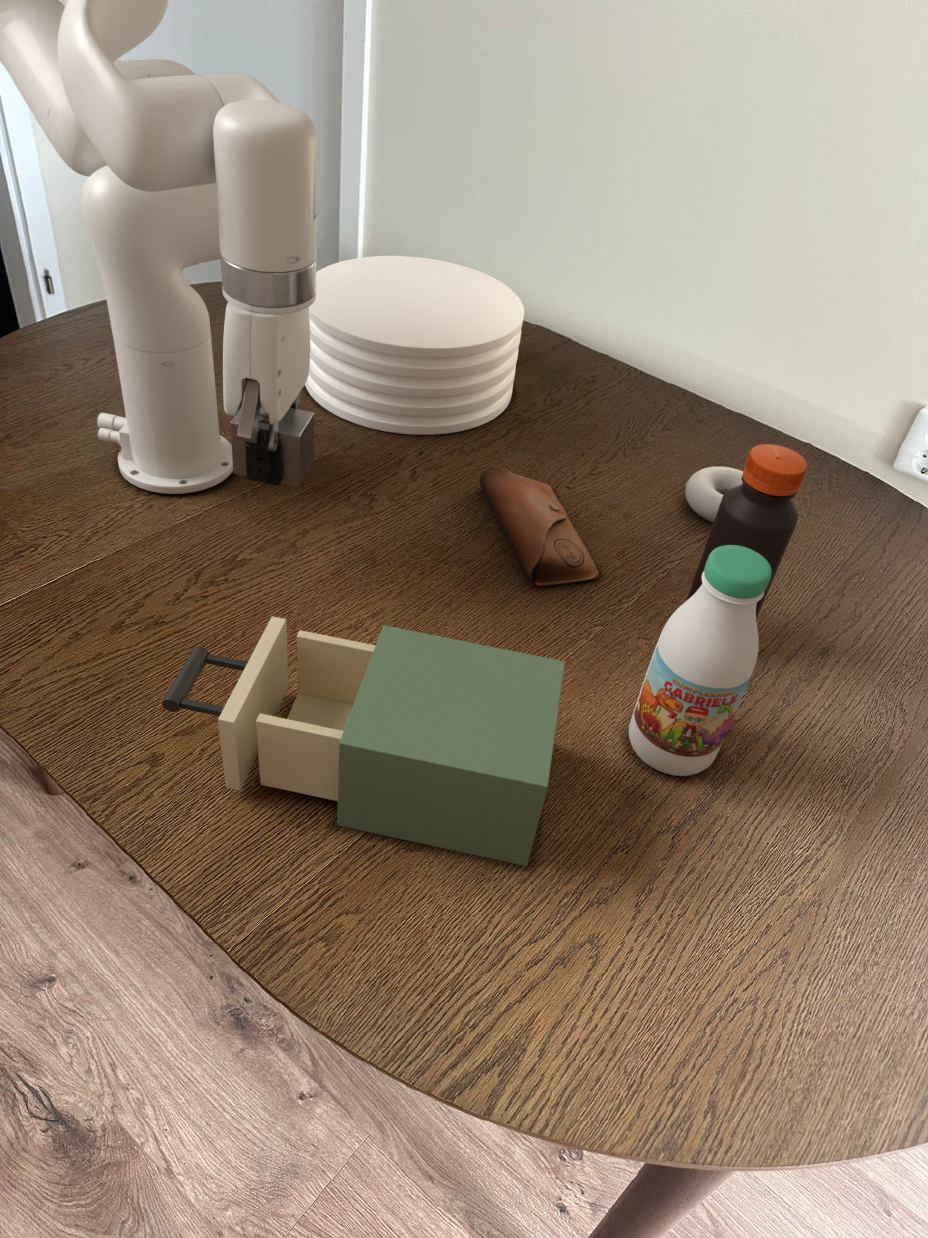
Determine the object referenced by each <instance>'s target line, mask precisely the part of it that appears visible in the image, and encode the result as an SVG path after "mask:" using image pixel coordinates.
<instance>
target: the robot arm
mask: <svg viewBox="0 0 928 1238" xmlns="http://www.w3.org/2000/svg"><path fill="white" fill-rule="evenodd" d="M168 5H169V0H0V63H1V64H2V66H3V67H4V69H5V70H6V71H7V73H8V74H9V76H10V78H11V80H12V82H13V83H14V85H15V86H16V88H17V90H18V91H19V93H20V95H21V96H22V98H23V100H24V101H25V103H26V105H27V106H28V108H29V110H30V111H31V113H32V115H33V116H34V118H35V120H36V121H37V123H38V125H39V127H40V128H41V130H42V131H43V133H44V134H45V136H46V138H47V140H48V141H49V142H50V144H51V146H52V147H53V148H54V150H55V151H56V153H57V154H58V156H59V157H60V159H61V160H62V161H63V162H64V163H65V165H66V166H67V167H69V169H71V170H72V171H73V172H75V173H76V174H79V175H81V176H84V177H87V179H86V180H85V181H84V183H83V184H82V185H83V186H82V188H81V191H80V197H79V199H80V200H79V203H80V204H79V205H80V212H81V217H82V221H83V225H84V228H85V231H86V234H87V237H88V240H89V243H90V245H91V248H92V252H93V254H94V258H95V261H96V264H97V267H98V269H99V270H98V271H99V274H100V277H101V281H102V285H103V291H104V295H105V300H106V305H107V309H108V315H109V321H110V328H111V332H112V338H113V344H114V345H113V346H114V351H115V358H116V363H117V370H118V376H119V382H120V388H121V389H120V390H121V395H122V400H123V407H124V414H125V417H124V416H119V415H116V414H112V413H106V412H100V413H99V414H98V417H97V420H96V425H97V428H98V430H97V439H98V440H99V441H101V442H102V441H103V442H108V443H115V444H116V443H117V445H118V446H119V447H121V448H120V450H119V452H118V455H117V463H118V469H119V472H120V474H121V475H122V477H123V478H124V479H125V480H126V481H127V482H129V483H130V484H131V485H133V486H135V487H137V488H139V489H141V490H145V491H148V492H153V493H157V494H164V495H165V494H167V495H182V494H192V493H197V492H200V491H205V490H207V489H210V488H213V487H214V486H216V485H218V484H221V483H222V482H223V481H225V480H226V479H227V478H229V476H230V475H231V474H232V473H233V459H232V443H231V442H230V441H229V440H228V439H227V438H225V437H224V436H222V435H220V434H221V433H220V423H219V412H218V399H217V387H216V376H215V375H216V374H215V365H214V363H215V362H214V353H213V352H214V351H213V341H212V330H211V321H210V314H209V311H208V308H207V304H206V303H205V301H204V300H203V298H202V296H201V295H200V294H199V293H198V292H197V290H196V289H194V287H192V286H191V285H190V284H189V283H188V282H187V281H186V280H185V279H184V276H183V274H182V273H183V270H184V269H186V268H189V267H193V266H197V265H199V264H202V263H203V264H204V263H207V262H213V261H219V260H220V269H221V270H220V272H221V273H220V274H221V289H222V296H223V297H224V299H225V300H226V301H227V304H226V306H225V315H224V325H223V337H222V338H223V339H222V340H223V341H222V384H223V385H222V391H223V393H222V395H223V396H222V397H223V409H224V413H225V414H226V415H227V416H228V417H235V416H236V414H237V413H238V412H239V410H240V409H241V414H240V419H239V425H238V431H237V439H239V440H242V441H243V443H244V446H245V452H246V473H247V476H246V478H247V480H249V481H253V482H257V483H262V484H267V485H271V486H275V487H276V486H277V487H278V486H280V485H281V482H282V450H281V446H277V443H278V427H279V421H280V420H281V419H282V418H283V416H284V415H285V414H286V412H287V411H288V409H289V408H294V409H299V410H301V398H300V393H301V391H302V389H303V388H304V387H305V383H306V381H307V378H308V375H309V367H310V317H309V306H311V305H312V304H313V303H314V301H315V299H316V272H317V243H318V241H317V240H318V239H317V238H318V237H317V236H318V235H317V234H318V153H319V152H318V151H319V150H318V147H319V146H318V145H319V143H318V131H317V128H316V125H315V123H314V121H313V120H312V118H311V117H310V116H309V115H308V114H307V113H306V112H305V111H303V110H302V109H300V108H297V107H295V106H293V105H290V104H287V103H283V102H281V101H279V100H278V98H277V97H276V96H275V95H274V94H273V93H272V92H271V90H269V88H267V86H265V85H264V84H263V83H262V82H261V81H260V80H259V79H257V78H255V77H253V76H251V75H248V74H244V73H237V72H236V73H235V72H224V73H210V74H197V73H195V72H194V71H193V70H191V68H189V67H187V65H184V64H182V63H180V62H177V61H174V60H170V59H160V58H158V59H157V58H155V59H154V58H153V59H151V58H150V59H133V60H132V59H131V60H121V59H120V58H122V57H123V56H124V55H126V54H127V53H129V52H130V51H132V50H133V49H135V48H136V47H138V45H141V44H142V43H143V42H144V41H145V40H147V39H148V38H149V37H150V36H151V35H152V34H153V33H154V32H155V31H156V30H157V29H158V27H159V26H160V24H161V22H162V20H163V18H164V17H165V15H166V11H167V8H168ZM260 408H263V409H264V411H265V412H260ZM258 422H262V423H266V424H269V430H268V434H267V433H266V432H265V431H261V430H259V429H258V427H257V425H258Z"/></svg>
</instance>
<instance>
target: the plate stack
mask: <svg viewBox="0 0 928 1238" xmlns="http://www.w3.org/2000/svg"><path fill="white" fill-rule="evenodd" d="M309 317H310V367H309V375H308V378H307V381H306V383H305V385H304V387H305V388H306V391H307V392H308V394H309V395H310V396H311V398H312V399H313V400H314V401H315V402H316V403H317V404H318V405H319V406H321V407H322V408H324V409H325V410H327V411H328V412H330V413H331V414H333V415H335V416H337V417H339V418H341V419H343V420H345V421H347V422H350V423H352V424H355V425H359V426H361V427H365V428H368V429H373V430H377V431H381V432H387V433H394V434H401V435H414V436H417V435H419V436H428V435H430V436H432V435H445V434H452V433H458V432H463V431H467V430H471V429H475V428H477V427H480V426H482V425H485V424H487V423H489V422H491V421H492V420H494V419H496V418H497V417H498V416H500V415H501V414H502V413H503V412H504V411H505V410H506V409H507V407H508V406H509V404H510V402H511V399H512V396H513V395H512V394H513V388H514V382H515V376H516V368H517V367H516V366H517V361H518V357H519V346H520V343H521V337H522V328H523V323H524V317H525V308H524V304H523V302H522V300H521V298H520V296H518V294H516V293H515V291H514V290H512V289H511V288H510V287H509V286H508V285H507V284H505V283H503V282H502V281H501V280H499V279H497V278H495V277H493V276H491V275H488V274H486V273H484V272H482V271H479V270H476V269H474V268H471V267H468V266H465V265H462V264H457V263H454V262H449V261H446V260H445V261H444V260H440V259H435V258H427V257H418V256H407V255H376V256H374V255H373V256H365V257H364V256H363V257H357V258H356V257H355V258H350V259H346V260H342V261H339V262H338V261H337V262H334V263H332V264H329V265H326V266H325V267H322V268H321V269H319V270H318V271H317V270H316V299H315V301H314V303H313V304H312V305H311V306H309Z"/></svg>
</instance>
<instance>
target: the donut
mask: <svg viewBox="0 0 928 1238" xmlns="http://www.w3.org/2000/svg"><path fill="white" fill-rule="evenodd" d="M742 473H743V470H741V469H737V468H734V467H729V466H709V467H705V468H704V467H703V468H701V469H699V470H698V471H696V472H695V473H693V474H692V475H691V476H690V477H689V479H688V480H687V482H686V484H685V493H684V494H685V495H684V496H685V499H686V501H687V504H688V505H689V507H690V508H691V509H692V511H694V512H695V514H697V515H698V516H699V517H701V518H702V519H704V520H706V521H707V522H708V523H709V522H710V523H712V524H713V523H714V520H715V517H716V514H717V512H718V509H719V506H720V503H721V500H722V497H723V495H724V494H725V493H726V492H727V491H729V490H730V489H731V488H734V487H736V486H739V485H741V484H743V483H742V480H741V478H742Z"/></svg>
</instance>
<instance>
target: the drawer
mask: <svg viewBox="0 0 928 1238" xmlns="http://www.w3.org/2000/svg"><path fill="white" fill-rule="evenodd" d="M375 646H376V644H370V643H365V642H361V641H355V640H352V639H351V640H350V639H346V638H341V637H336V636H332V635H331V636H330V635H326V634H321V633H316V632H311V631H307V630H302V629H300V630H299V631H298V633H297V635H296V659H297V661H296V662H297V663H296V664H297V694H296V697H295V699H294V701H293V704H292V705H291V708H290V710H289V713H288V715H287V717H286V718H283V717H279V716H276V715H277V713H278V711H279V709H280V706H281V704H282V702H283V700H284V697H285V696H286V694H287V691H288V689H289V685H290V684H289V660H288V659H289V657H288V627H287V619H286V618H282V617H278V616H273V615H272V616H271V617H270V619H269V621H268V623H267V625H266V627H265V628H264V631H263V632H262V635H261V636H260V638H259V641H258V643H256V646H255V647H254V649H253V652H252V654H251V656H250V657H249V660H248V661H246V660H241V659H237V658H232V657H227V656H222V655H217V654H211V653H210V652H209V650H208V649H206V648H205V647H203V646H196V647H193V649H192V650H191V652H190V654H189V655H188V657H187V659H186V661H185V662H184V664H183V666H182V667H181V669H180V670H179V672H178V674H177V676H176V677H175V679H174V680H173V682H172V684H171V686H170V687H169V689H168V691H167V693H166V694H165V695H164V697H163V699H162V701H161V705H162V707H163V708H164V709H165V710H166V711H168V712H171V713H176V712H179V711H180V709H183V710H187V711H192V712H196V713H201V714H205V715H210V716H211V715H212V716H216V717H218V719H217V720H218V731H219V739H220V740H219V741H220V749H221V757H222V767H223V775H224V783H225V788H227V789H231V790H235V791H242V788H243V786H244V785H245V782H246V780H247V779H248V776H249V775H250V774H249V773H250V771H251V770H252V767H253V765H254V763H255V761H256V759H257V758H258V766H259V767H258V769H259V770H258V771H259V782H260V785H261V786H264V787H270V788H274V789H278V790H279V789H280V790H283V791H287V792H288V791H289V792H293V793H297V794H303V795H308V796H311V797H315V798H316V797H317V798H321V799H325V800H330V801H335V802H338V765H339V742H340V739H341V736H342V734H343V731H344V728H345V726H346V723H347V720H348V718H349V715H350V713H351V710H352V707H353V705H354V702H355V699H356V697H357V694H358V691H359V689H360V686H361V683H362V681H363V678H364V675H365V673H366V670H367V667H368V665H369V662H370V659H371V657H372V654H373V651H374V649H375ZM206 664H207V665H212V666H217V667H222V668H227V669H232V670H237V671H242V673H241V674H240V677H239V679H238V680H237V683H236V684H235V686H234V688H233V690H232V691H231V694H230V695H229V698H228V700H227V701H226V704H225V705H224V706H223V705H218V704H214V703H210V702H209V703H208V702H205V701H199V700H195V699H190V698H188V696H189V694H190V692H191V690H192V689H193V687H194V685H195V683H196V682H197V680H198V678H199V676H200V675H201V673H202V672H203V669H204V668H205V666H206Z"/></svg>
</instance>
